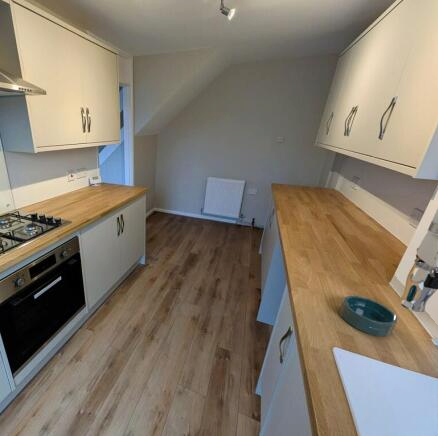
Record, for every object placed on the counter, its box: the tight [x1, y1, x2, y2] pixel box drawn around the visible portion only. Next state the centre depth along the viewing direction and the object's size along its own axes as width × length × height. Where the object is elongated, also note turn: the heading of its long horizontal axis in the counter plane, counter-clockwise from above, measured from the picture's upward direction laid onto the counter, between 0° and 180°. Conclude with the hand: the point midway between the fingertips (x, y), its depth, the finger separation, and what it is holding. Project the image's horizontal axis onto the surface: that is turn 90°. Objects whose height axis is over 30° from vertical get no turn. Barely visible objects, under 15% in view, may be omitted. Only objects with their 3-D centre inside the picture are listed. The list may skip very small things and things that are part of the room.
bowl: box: [339, 295, 398, 337], centre depth 81 cm, size 14×14×6 cm
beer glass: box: [397, 262, 438, 313], centre depth 77 cm, size 7×7×15 cm
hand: (423, 280), depth 76 cm, fingers closed on beer glass, 7 cm apart
